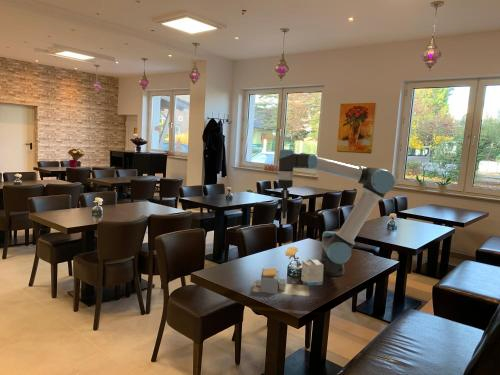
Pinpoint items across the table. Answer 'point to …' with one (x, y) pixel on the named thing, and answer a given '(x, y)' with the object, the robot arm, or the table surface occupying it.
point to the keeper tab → (268, 272)
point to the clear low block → (280, 284)
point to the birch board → (288, 289)
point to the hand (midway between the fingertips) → (283, 224)
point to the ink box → (312, 272)
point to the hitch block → (270, 283)
